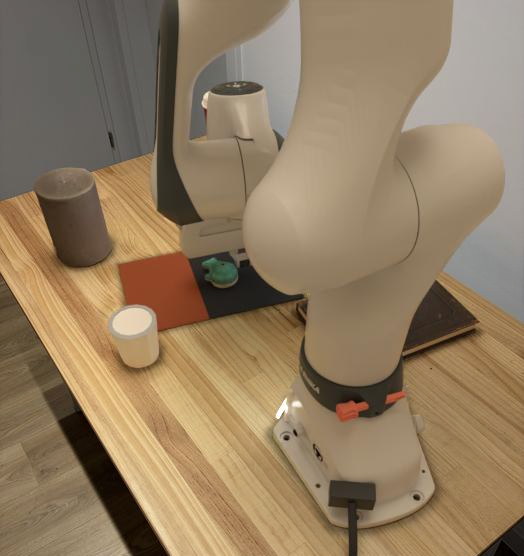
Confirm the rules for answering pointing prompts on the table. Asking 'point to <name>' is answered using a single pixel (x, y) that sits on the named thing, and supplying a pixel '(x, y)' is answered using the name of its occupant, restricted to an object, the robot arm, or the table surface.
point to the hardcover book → (429, 321)
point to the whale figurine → (221, 273)
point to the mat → (193, 289)
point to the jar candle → (135, 335)
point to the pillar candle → (73, 216)
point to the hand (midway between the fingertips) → (243, 264)
